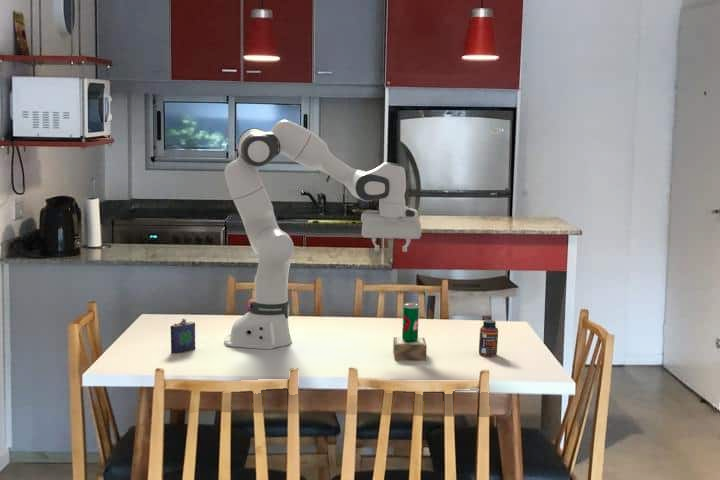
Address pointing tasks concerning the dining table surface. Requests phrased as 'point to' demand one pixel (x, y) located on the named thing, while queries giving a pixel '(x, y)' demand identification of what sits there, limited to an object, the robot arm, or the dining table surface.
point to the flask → (182, 337)
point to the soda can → (410, 322)
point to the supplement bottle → (488, 338)
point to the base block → (409, 349)
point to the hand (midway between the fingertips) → (390, 251)
